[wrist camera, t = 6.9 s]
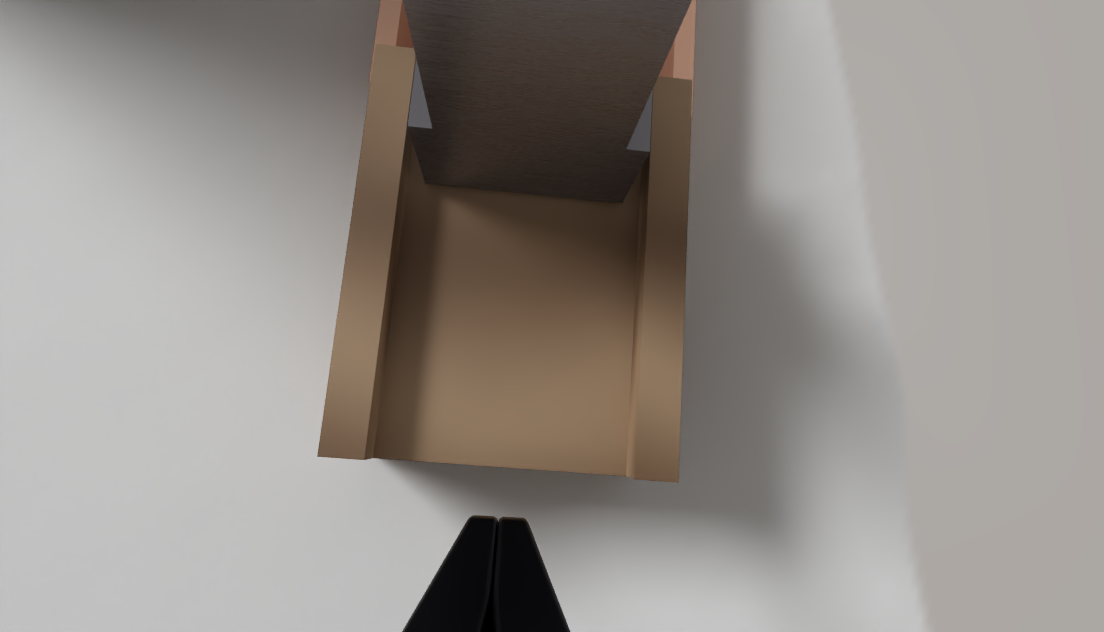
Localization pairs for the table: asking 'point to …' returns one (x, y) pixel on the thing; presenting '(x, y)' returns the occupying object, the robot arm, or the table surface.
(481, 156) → the plunger
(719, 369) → the table surface
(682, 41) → the pink square tray
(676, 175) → the track
